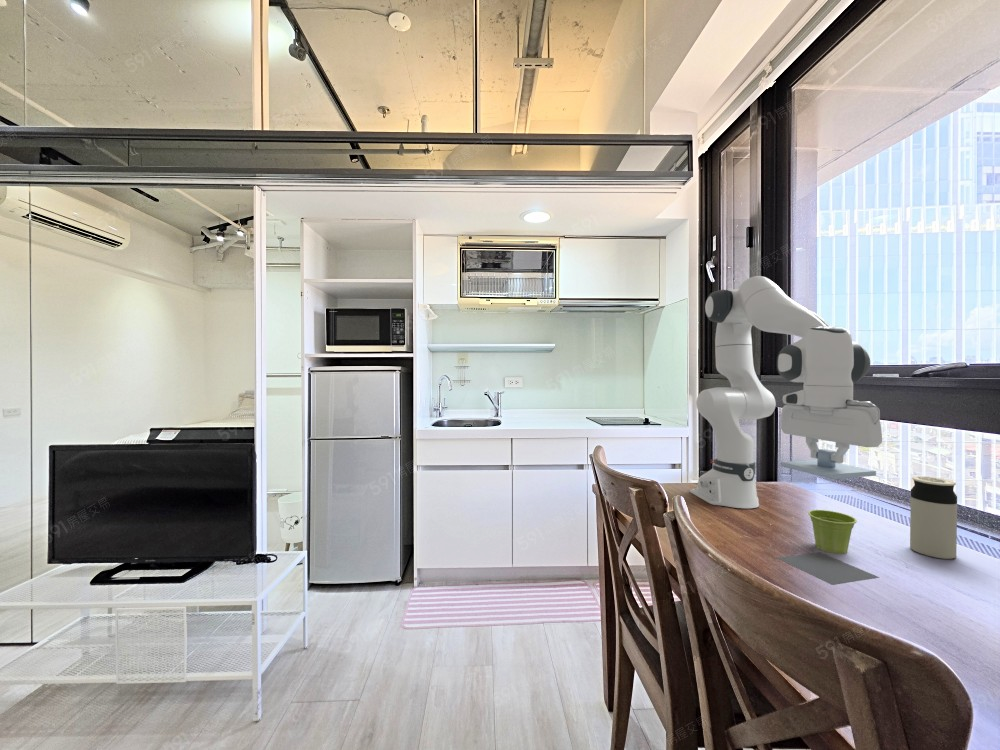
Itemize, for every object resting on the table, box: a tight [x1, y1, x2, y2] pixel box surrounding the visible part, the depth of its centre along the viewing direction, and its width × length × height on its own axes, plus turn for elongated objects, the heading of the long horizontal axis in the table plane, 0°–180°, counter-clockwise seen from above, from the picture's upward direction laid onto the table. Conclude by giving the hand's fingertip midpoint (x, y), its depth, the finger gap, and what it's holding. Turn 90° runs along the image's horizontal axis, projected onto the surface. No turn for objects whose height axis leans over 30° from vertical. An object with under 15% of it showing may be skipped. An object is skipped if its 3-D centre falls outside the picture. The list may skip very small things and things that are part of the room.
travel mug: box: [909, 475, 958, 560], centre depth 104 cm, size 8×8×18 cm
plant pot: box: [808, 509, 858, 555], centre depth 105 cm, size 9×9×9 cm
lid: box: [780, 448, 877, 480], centre depth 95 cm, size 12×12×4 cm
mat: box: [777, 551, 880, 586], centre depth 95 cm, size 13×13×1 cm
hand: (826, 460), depth 95 cm, fingers closed on lid, 3 cm apart
